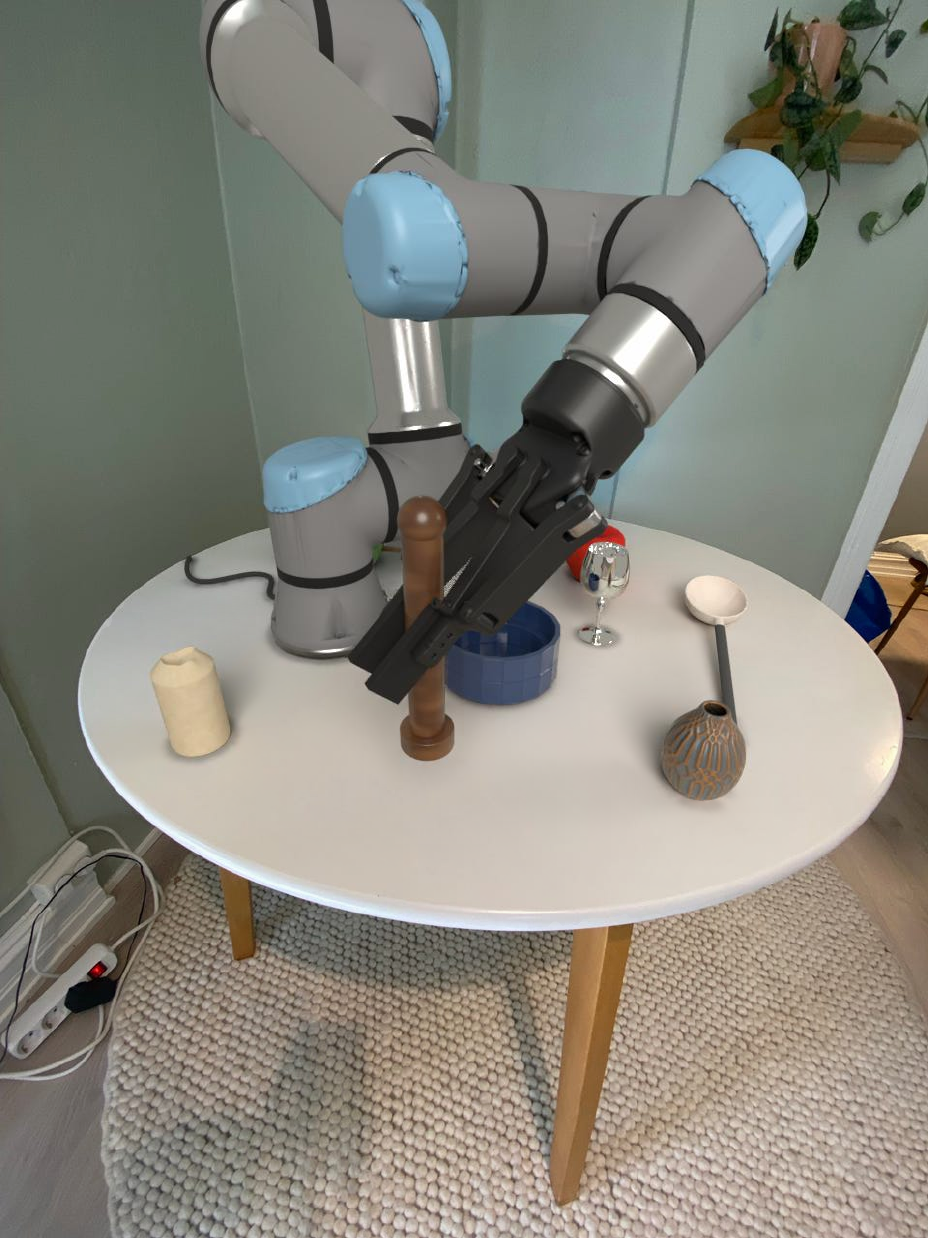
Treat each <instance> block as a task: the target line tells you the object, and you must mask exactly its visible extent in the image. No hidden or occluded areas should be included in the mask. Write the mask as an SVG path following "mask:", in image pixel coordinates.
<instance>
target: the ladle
mask: <svg viewBox="0 0 928 1238" xmlns="http://www.w3.org/2000/svg"><path fill="white" fill-rule="evenodd" d="M684 600H685V604H686V606H687V609H688V610H689V612H690V614H691V615H692V616H694V617H695V618H696V619H698V620H699V621H701V622H703V623H705V624H709V625H712V626H714V632H715V634H714V635H715V643H716V652H717V653H716V654H717V662H718V673H719V682H720V691H721V692H720V693H721V701H722V702H721V703H723V704H725V705H726V706H727V707H728V708H729V709H730V711H731V716H732V719H733V721H734V722H735V723H736V725H737V727H738V726H739V725H738V720H737V719H738V717H737V711H736V703H735V694H734V687H733V679H732V672H731V663H730V656H729V648H728V639H727V632H726V626H727V625H730V624H731V623H734V622H735V621H737V620H739V619H740V618H741V617H742V616H743V614H744V613H745V612H746V610H747V608H748V606H749V605H748V603H749V599H748V596H747V594H746V592H745V591H744V590H743V589H742V588H741V587H740V586H739V585H737V584H736V583H735V582H733V581H731V580H729V579H727V578H724V577H722V576H717V575H707V574H704V575H699V576H696V577H694V578H692V579H690V580H689V581H688V582H687V584H686V585H685V589H684ZM738 728H739V727H738Z"/></svg>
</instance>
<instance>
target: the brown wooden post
mask: <svg viewBox="0 0 928 1238" xmlns="http://www.w3.org/2000/svg"><path fill="white" fill-rule="evenodd" d="M397 525H398V529H399V531H400V533H401V540H400V543H401V554H402V561H401V565H402V566H401V568H402V585H403V591H404V613H405V632H406V631H407V630H408V629H409V627H410V626H411V625H412V624H413V622H414V621H415V620H416V619H417V617H418V616H419V615H420V614H421V612H422V611H423V610H424V609H425V608H426V606H427V605H428V604H430V605H431V602H432V599H433V597H435V598H437V599H439V600H440V601H443V599H444V598H445V586H444V533H445V531H446V528H447V514H446V512H445V509H444V507H443V506H442V505H441V504H440V503H439V502H438V501H437V500H436V499H434V498H432V497H429V496H425V495H419V496H414V497H412V498H410V499H408V500H407V501H406V502H405V503H404V504H403V505H402V506H401V508H400V510H399V512H398V516H397ZM407 702H408V714H407V715H406V716H405V717H404V718H403V720H402V721H401V723H400V726H399V735H400V736H399V737H400V747H401V749H402V752H404V754H405V755H406V756H408V757H409V758H410V759H413V760H415V761H420V762H434V761H438V760H440V759H443V758H445V757H446V756H448V755H449V754H450V753H451V752H452V750H454V749H453V748H454V746H455V723H454V721H453V719H452V718H451V716H450V715H448V714H447V713H446V685H445V656H444V657H443V658H442V659H441V661H440V662H439V663H438V664H437V665H436V666H435V667H433V668H432V669H430V668H428V669H427V670H426V672H425V673H424V674H423V675H422V676H421V678H420V679H419V680H418V681H417V683H416V684H415V685H414V686H413V688H412V689H411V690H410V691H409V692H408V694H407Z"/></svg>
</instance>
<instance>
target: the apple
mask: <svg viewBox="0 0 928 1238" xmlns="http://www.w3.org/2000/svg"><path fill="white" fill-rule="evenodd" d="M598 542H611V543H616V544H619V545H622V546H624V547H625V548H626V538H625V536H624V533H622V531H620V530H619V529H618V528H616V527H614V526H612V525H610V524H608V526H607V529H606V530H605V531H604V532H603V533H602V534H601V535H599V536H598V537H596V538H594V539H593V540H591V541H590V542H588V543H586V544H585V545H583V546H582V547H580V548H579V549H577V550H576V551H575V552H574V553H573V554H572V555H571V556H570V557H569V558H568V559H567V560H566V561H565V563H566V565H567V567H568V569H569V571H570V573H571V575H572V577H573V578H574V579H576V580H577V581H579V582H581V581H580V574H581V568H582V564H583V561H584V558H585V555H586V552H587V550H588V548H589V546H590V545H591V544H593V543H598Z"/></svg>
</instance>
